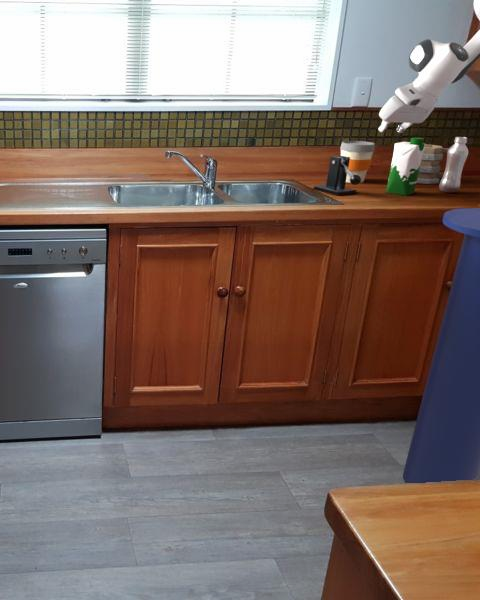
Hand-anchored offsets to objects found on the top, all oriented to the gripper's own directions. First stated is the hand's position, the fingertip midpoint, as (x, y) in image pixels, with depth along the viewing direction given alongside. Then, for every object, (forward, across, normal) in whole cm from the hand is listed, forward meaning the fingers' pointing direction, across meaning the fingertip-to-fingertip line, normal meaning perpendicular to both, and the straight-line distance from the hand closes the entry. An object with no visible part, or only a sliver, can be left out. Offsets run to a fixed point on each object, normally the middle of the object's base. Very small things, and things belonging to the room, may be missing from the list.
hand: (389, 131), depth 200 cm
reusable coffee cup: (+36, -29, -14) cm, 48 cm away
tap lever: (+23, -5, -5) cm, 24 cm away
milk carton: (+23, -25, +6) cm, 35 cm away
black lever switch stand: (+31, -5, -4) cm, 32 cm away
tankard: (+25, -56, -1) cm, 61 cm away
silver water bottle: (+18, -42, +12) cm, 48 cm away
